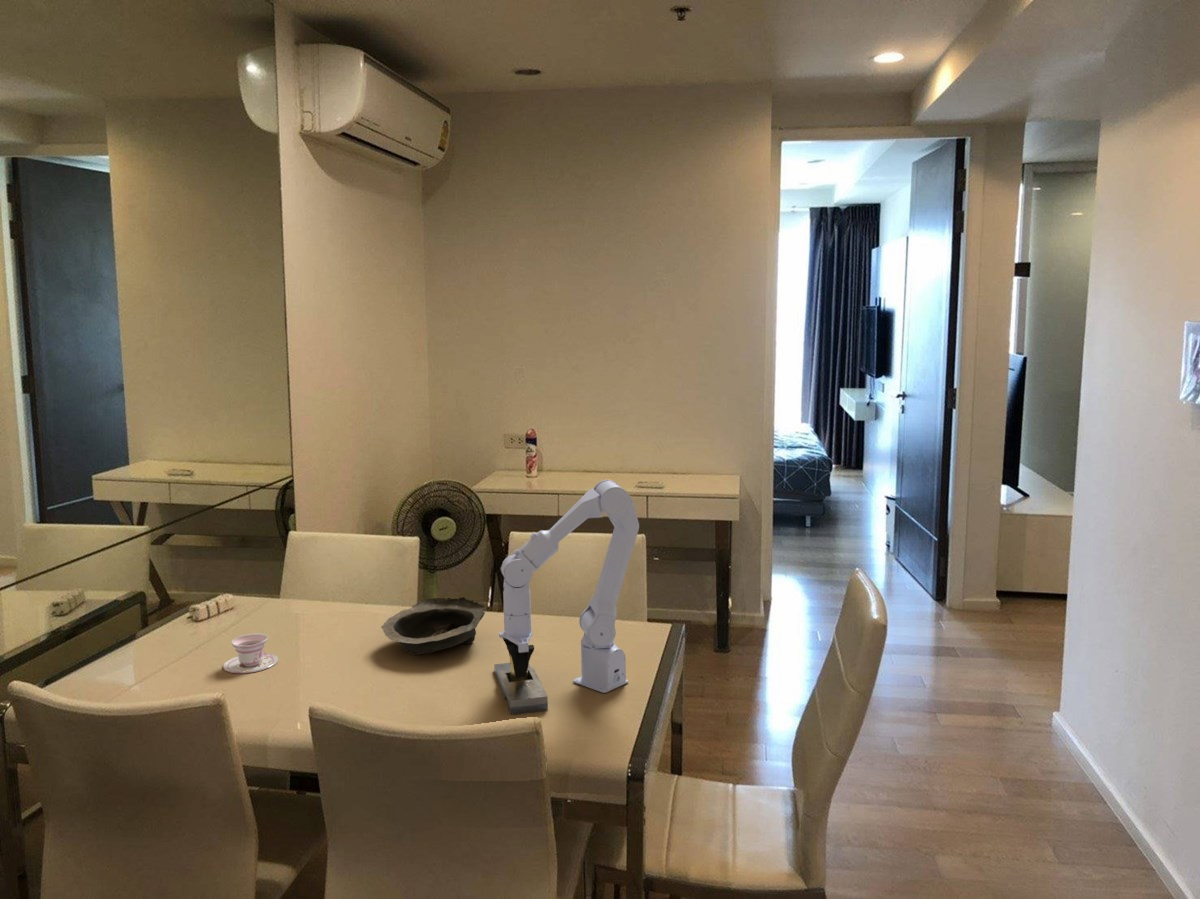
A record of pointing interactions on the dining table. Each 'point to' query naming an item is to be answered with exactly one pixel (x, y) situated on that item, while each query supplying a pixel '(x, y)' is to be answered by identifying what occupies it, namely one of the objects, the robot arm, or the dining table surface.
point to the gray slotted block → (521, 691)
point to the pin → (513, 676)
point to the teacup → (250, 654)
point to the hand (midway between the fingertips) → (519, 673)
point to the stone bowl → (434, 624)
